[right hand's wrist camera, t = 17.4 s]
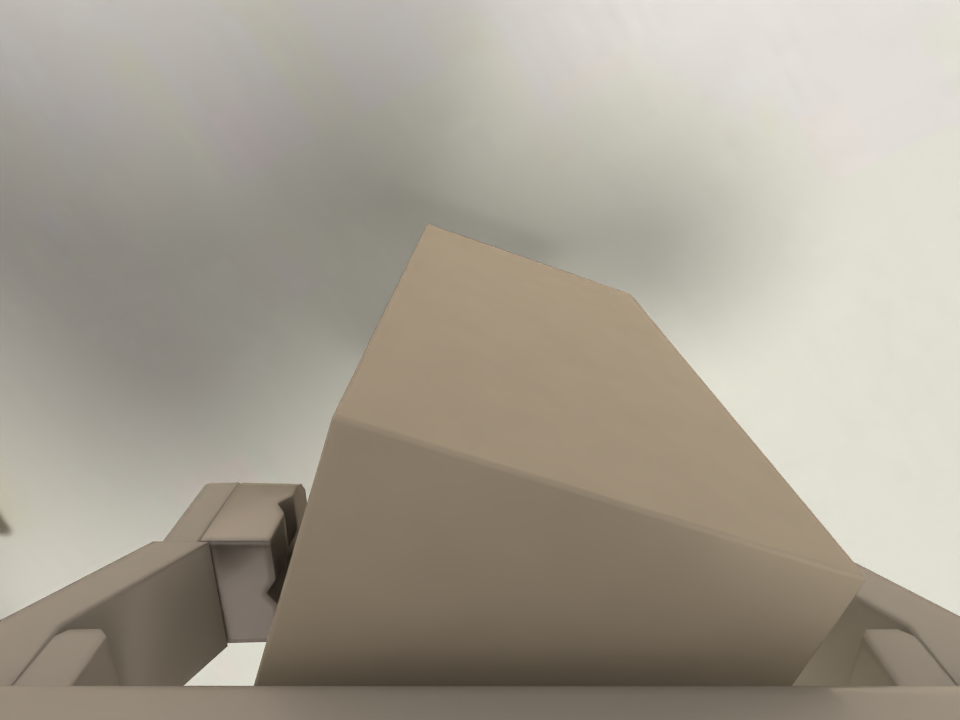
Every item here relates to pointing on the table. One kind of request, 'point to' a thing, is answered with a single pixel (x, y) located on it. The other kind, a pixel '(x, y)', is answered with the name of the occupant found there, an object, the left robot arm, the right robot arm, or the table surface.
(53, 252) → the table surface
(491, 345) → the brick
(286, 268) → the table surface
